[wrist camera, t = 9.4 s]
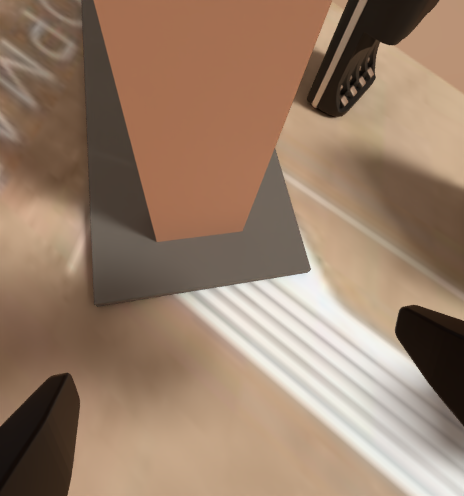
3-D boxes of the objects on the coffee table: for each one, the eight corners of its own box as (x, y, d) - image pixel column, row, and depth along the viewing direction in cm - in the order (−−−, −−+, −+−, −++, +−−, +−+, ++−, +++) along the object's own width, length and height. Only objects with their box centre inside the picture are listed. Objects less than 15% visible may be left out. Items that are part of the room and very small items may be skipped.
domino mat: (307, 272, 18) (311, 269, 18) (97, 306, 16) (94, 304, 16) (218, -33, 28) (219, -41, 28) (81, -38, 26) (79, -47, 26)
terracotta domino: (242, 231, 18) (346, -35, 6) (156, 241, 17) (81, -48, 5) (235, 202, 19) (317, -89, 7) (153, 210, 18) (78, -110, 6)
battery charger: (342, 132, 23) (472, -69, 12) (301, 104, 23) (393, -111, 13) (383, 85, 25) (520, -115, 15) (345, 61, 26) (452, -149, 15)
